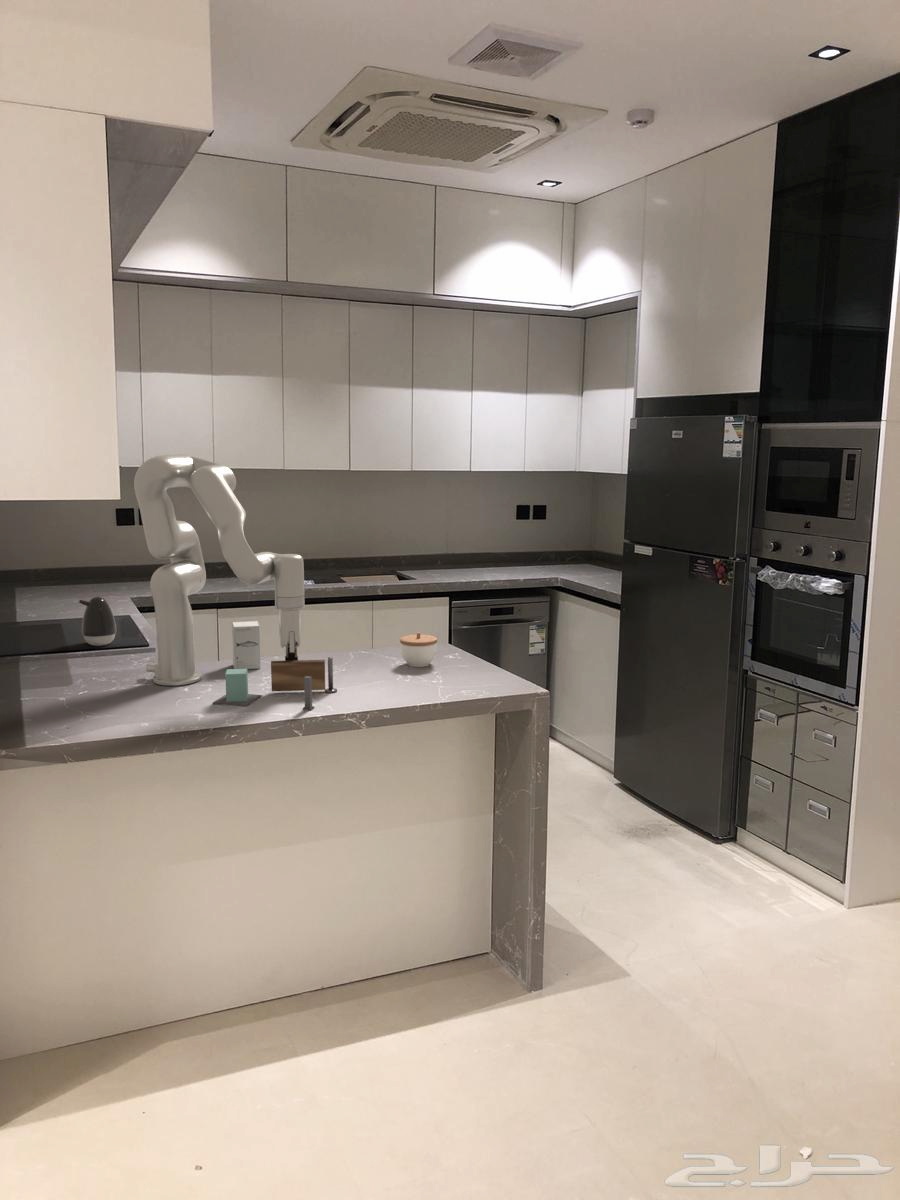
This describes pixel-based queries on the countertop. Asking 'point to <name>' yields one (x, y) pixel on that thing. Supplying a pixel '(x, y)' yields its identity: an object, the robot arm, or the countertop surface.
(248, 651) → the supplement box
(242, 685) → the block
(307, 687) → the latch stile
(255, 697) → the mat
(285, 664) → the gate
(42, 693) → the countertop surface
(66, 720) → the countertop surface
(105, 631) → the pump dispenser
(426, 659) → the lidded jar
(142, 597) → the countertop surface
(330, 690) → the gate post
